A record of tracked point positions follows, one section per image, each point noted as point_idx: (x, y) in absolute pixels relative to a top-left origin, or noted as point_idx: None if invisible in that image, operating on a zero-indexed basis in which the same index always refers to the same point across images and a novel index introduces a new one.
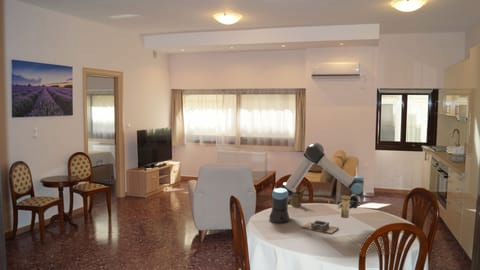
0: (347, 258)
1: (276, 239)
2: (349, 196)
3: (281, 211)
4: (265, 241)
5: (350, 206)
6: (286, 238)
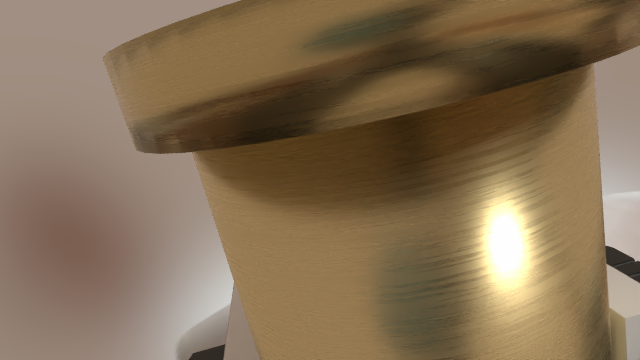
0: (207, 318)
1: (624, 223)
2: (201, 22)
3: None
4: (608, 195)
5: (207, 352)
6: (626, 253)
